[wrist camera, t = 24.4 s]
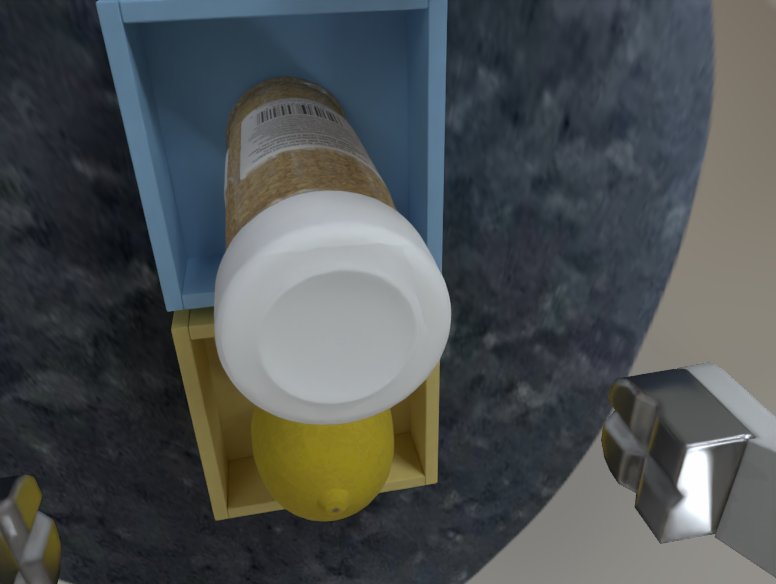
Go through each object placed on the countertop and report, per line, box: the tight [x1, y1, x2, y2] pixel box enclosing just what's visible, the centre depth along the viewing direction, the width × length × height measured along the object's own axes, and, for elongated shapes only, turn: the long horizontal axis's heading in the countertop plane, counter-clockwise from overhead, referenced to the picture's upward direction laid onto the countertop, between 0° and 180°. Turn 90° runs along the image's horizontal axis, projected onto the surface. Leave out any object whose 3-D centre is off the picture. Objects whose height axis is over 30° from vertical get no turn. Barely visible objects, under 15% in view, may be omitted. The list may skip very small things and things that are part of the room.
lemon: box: [251, 405, 394, 521], centre depth 25 cm, size 6×6×8 cm
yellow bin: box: [171, 306, 440, 520], centre depth 28 cm, size 10×10×4 cm
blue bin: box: [96, 0, 447, 312], centre depth 22 cm, size 10×10×4 cm
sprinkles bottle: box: [214, 76, 451, 425], centre depth 18 cm, size 5×4×13 cm
